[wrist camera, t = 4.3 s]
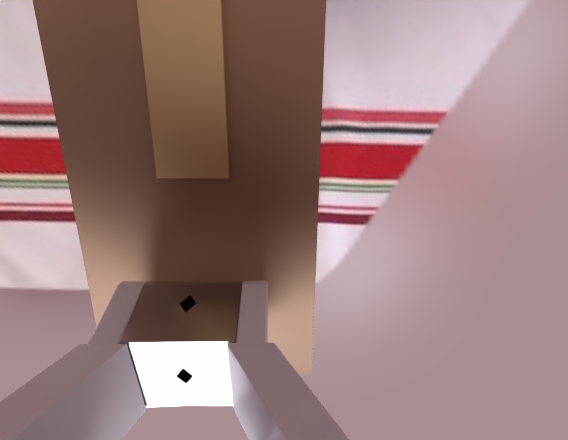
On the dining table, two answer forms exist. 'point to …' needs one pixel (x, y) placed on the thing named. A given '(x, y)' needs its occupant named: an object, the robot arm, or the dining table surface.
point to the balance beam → (193, 145)
